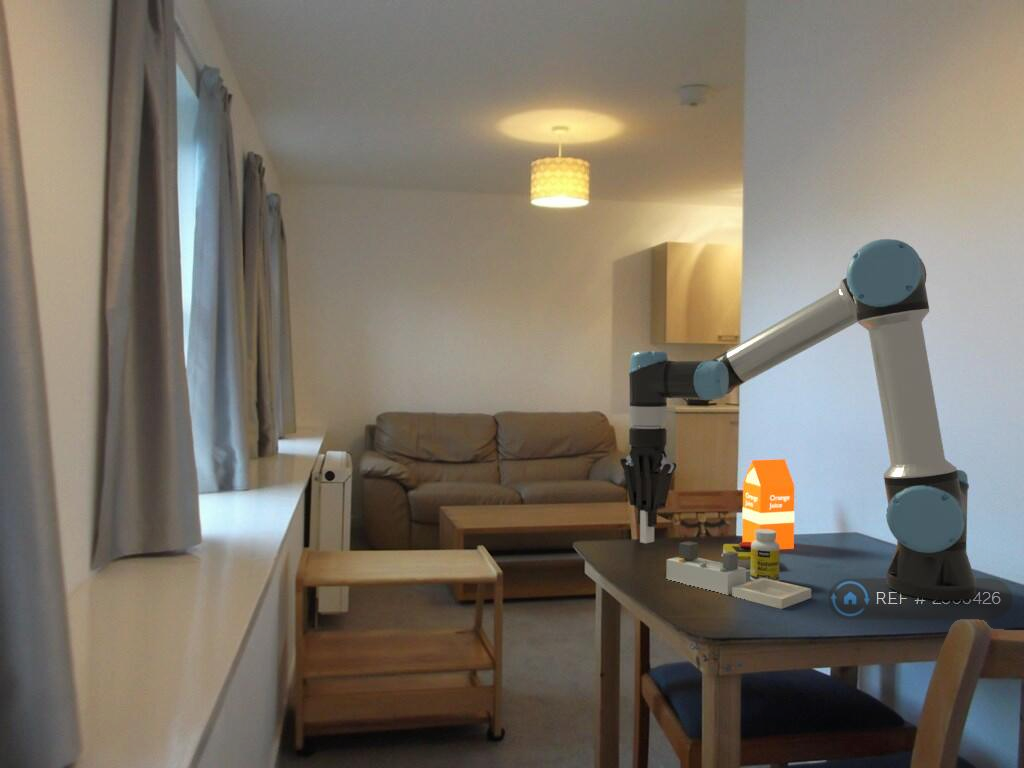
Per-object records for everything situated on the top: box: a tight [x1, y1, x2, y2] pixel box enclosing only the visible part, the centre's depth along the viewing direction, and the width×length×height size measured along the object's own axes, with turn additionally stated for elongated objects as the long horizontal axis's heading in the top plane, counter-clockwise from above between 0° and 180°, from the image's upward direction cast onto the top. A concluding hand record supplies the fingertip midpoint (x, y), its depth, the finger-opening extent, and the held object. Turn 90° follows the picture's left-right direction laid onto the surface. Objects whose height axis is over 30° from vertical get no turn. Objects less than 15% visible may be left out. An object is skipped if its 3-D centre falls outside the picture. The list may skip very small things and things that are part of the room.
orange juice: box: [741, 458, 796, 550], centre depth 194 cm, size 8×9×20 cm
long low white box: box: [666, 552, 747, 596], centre depth 162 cm, size 14×6×7 cm, turn 41°
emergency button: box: [720, 541, 781, 573], centre depth 179 cm, size 9×4×15 cm
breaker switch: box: [678, 540, 699, 561], centre depth 165 cm, size 2×3×3 cm
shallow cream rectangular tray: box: [731, 578, 812, 610], centre depth 153 cm, size 10×10×2 cm
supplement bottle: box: [749, 529, 781, 582], centre depth 164 cm, size 5×5×10 cm
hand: (647, 541), depth 172 cm, fingers closed
